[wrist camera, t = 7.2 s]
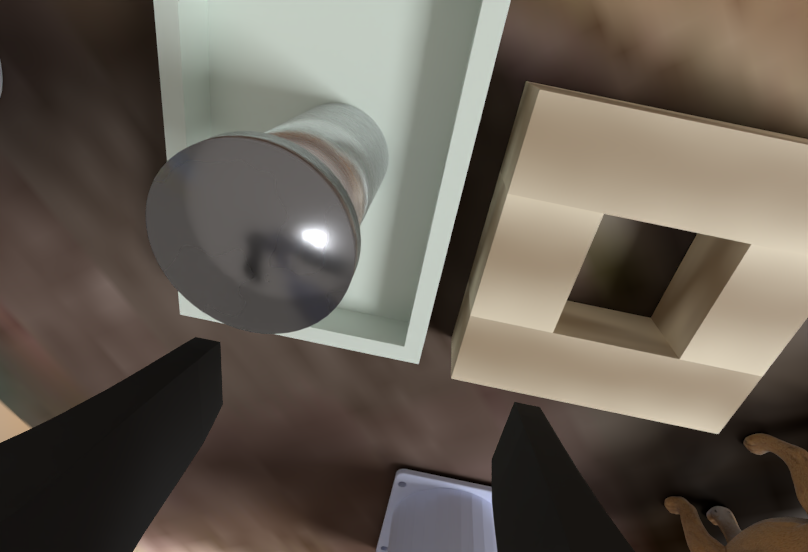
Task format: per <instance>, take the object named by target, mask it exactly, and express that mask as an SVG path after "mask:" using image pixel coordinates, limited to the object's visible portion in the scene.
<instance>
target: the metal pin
mask: <svg viewBox="0 0 808 552" xmlns="http://www.w3.org/2000/svg"><path fill="white" fill-rule="evenodd" d="M388 161H389V155H388V147H387V143H386V140H385V137H384V135H383V133H382V131H381V129H380V128H379V126H378V125H377V124H376V122H375V121H374V120H373V119H372V118H371V117H370V116H369V115H367V114H366V113H365V112H364V111H362V110H360V109H358V108H356V107H354V106H352V105H348V104H344V103H326V104H322V105H319V106H316V107H314V108H312V109H310V110H308V111H306V112H304V113H302V114H300V115H298V116H296V117H294V118H292V119H290V120H288V121H286V122H284V123H282V124H280V125H278V126H276V127H274V128H272V129H270V130H268V131H266V132H264V133H263V132H255V131H234V132H228V133H222V134H219V135H216V136H213V137H210V138H208V139H205V140H203V141H200V142H198V143H196V144H193V145H191V146H189V147H187V148H185V149H183V150H181V151H179V152H178V153H177V154H176V155H174V156H173V157H172V158H170V159H169V160H168V161H167V162H166V163H165V164H164V166H163V167H162V168H161V169H160V171H159V172H158V174H157V175H156V177H155V178H154V181H153V183H152V185H151V188H150V190H149V194H148V198H147V204H146V228H147V233H148V238H149V241H150V244H151V247H152V251H153V253H154V255H155V257H156V260H157V262H158V264H159V265H160V267H161V269H162V270H163V272H164V274H165V275H166V277H167V278H168V279H169V281H170V282H171V283H172V285H173V286H174V287H175V288H176V289H177V290H178V291H179V292H180V293H181V294H182V296H184V297H185V298H186V299H187V300H188V301H189V302H190V303H191V304H193V305H194V306H195V307H197V308H198V309H199V310H201V311H202V312H204V313H205V314H207V315H209V316H210V317H212V318H214V319H216V320H218V321H220V322H222V323H224V324H226V325H229V326H232V327H235V328H237V329H241V330H245V331H249V332H255V333H262V334H281V333H289V332H294V331H299V330H302V329H304V328H307V327H310V326H312V325H314V324H316V323H318V322H319V321H321V320H322V319H324V318H325V317H327V316H328V315H329V314H330V313H331V312H332V311H333V310H334V309H335V308H336V307H337V306H338V304H339V303H340V302H341V300H342V299H343V297H344V295H345V294H346V292H347V290H348V288H349V285H350V283H351V281H352V278H353V276H354V273H355V271H356V268H357V265H358V262H359V257H360V251H361V233H360V225H361V223H362V221H363V219H364V217H365V215H366V213H367V211H368V209H369V207H370V206H371V204H372V202H373V200H374V198H375V196H376V194H377V192H378V190H379V188H380V186H381V184H382V182H383V180H384V178H385V175H386V172H387V168H388Z"/></svg>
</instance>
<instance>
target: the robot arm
mask: <svg viewBox="0 0 808 552" xmlns="http://www.w3.org/2000/svg"><path fill="white" fill-rule="evenodd" d="M222 404H223V400H222V375H221V349H220V342H217V341H212V340H207V339H202V338H197V337H195V338H193V339H192V340H190V341H188V342H186V343H185V344H183V345H181V346H180V347H178V348H176V349H175V350H173V351H171V352H170V353H168V354H166V355H165V356H163V357H161V358H160V359H158V360H156V361H155V362H153V363H151V364H150V365H148V366H146V367H145V368H143V369H141V370H140V371H138V372H136V373H135V374H133V375H131V376H129V377H128V378H126V379H124V380H123V381H121V382H119V383H117V384H116V385H114V386H112V387H110V388H109V389H107V390H105V391H103V392H101V393H99V394H98V395H96V396H94V397H92V398H90V399H88V400H86V401H84V402H83V403H81V404H79V405H77V406H75V407H73V408H71V409H70V410H68V411H66V412H64V413H62V414H60V415H58V416H56V417H54V418H52V419H50V420H48V421H46V422H44V423H42V424H40V425H38V426H36V427H34V428H32V429H30V430H28V431H26V432H23V433H21V434H19V435H17V436H14V437H12V438H10V439H8V440H6V441H3V442H1V443H0V552H133V550H134V549H135V547H136V546H137V544H138V542H139V541H140V539H141V537H142V536H143V534H144V532H145V531H146V529H147V528H148V526H149V525H150V523H151V522H152V520H153V519H154V517H155V516H156V514H157V513H158V511H159V510H160V508H161V507H162V505H163V504H164V502H165V501H166V499H167V498H168V496H169V495H170V493H171V492H172V490H173V489H174V487H175V486H176V484H177V483H178V481H179V480H180V478H181V477H182V475H183V474H184V472H185V470H186V469H187V467H188V466H189V464H190V463H191V461H192V460H193V458H194V457H195V455H196V454H197V452H198V450H199V449H200V447H201V446H202V444H203V443H204V441H205V439H206V437H207V435H208V433H209V431H210V429H211V427H212V425H213V423H214V421H215V419H216V417H217V415H218V413H219V411H220V409H221V407H222ZM376 552H635V551H634V550H633V548H632V547H631V546H630V544H629V543H628V542H627V541H626V539H625V538H624V536H623V535H622V534H621V532H620V531H619V530H618V528H617V527H616V525H615V524H614V523H613V521H612V520H611V518H610V517H609V516H608V514H607V513H606V511H605V510H604V509H603V507H602V506H601V504H600V503H599V501H598V500H597V498H596V497H595V495H594V494H593V492H592V491H591V489H590V488H589V486H588V485H587V483H586V481H585V480H584V478H583V477H582V475H581V474H580V472H579V471H578V469H577V468H576V466H575V464H574V463H573V461H572V460H571V458H570V456H569V455H568V453H567V451H566V450H565V448H564V446H563V445H562V443H561V442H560V440H559V438H558V437H557V435H556V433H555V432H554V430H553V428H552V427H551V425H550V423H549V422H548V420H547V418H546V417H545V415H544V413H543V412H542V410H541V409H540V407H536V406H531V405H526V404H522V403H517V402H514V405H513V407H512V410H511V412H510V415H509V417H508V420H507V422H506V425H505V427H504V430H503V432H502V435H501V437H500V440H499V442H498V445H497V448H496V450H495V453H494V455H493V458H492V487H490V486H485V485H481V484H476V483H471V482H466V481H461V480H457V479H452V478H447V477H442V476H438V475H433V474H428V473H423V472H419V471H414V470H409V469H399V470H398V471H397V472H396V475H395V479H394V483H393V487H392V491H391V494H390V498H389V502H388V506H387V510H386V514H385V517H384V521H383V525H382V529H381V533H380V536H379V540H378V544H377V548H376Z"/></svg>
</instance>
